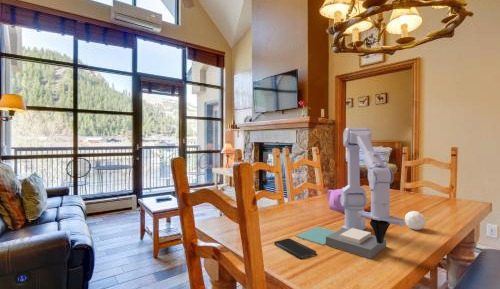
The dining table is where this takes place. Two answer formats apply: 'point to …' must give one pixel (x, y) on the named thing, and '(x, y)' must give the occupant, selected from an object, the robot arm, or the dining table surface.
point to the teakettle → (335, 200)
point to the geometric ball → (415, 220)
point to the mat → (316, 235)
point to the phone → (295, 248)
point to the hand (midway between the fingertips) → (380, 242)
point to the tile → (355, 235)
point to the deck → (355, 244)
